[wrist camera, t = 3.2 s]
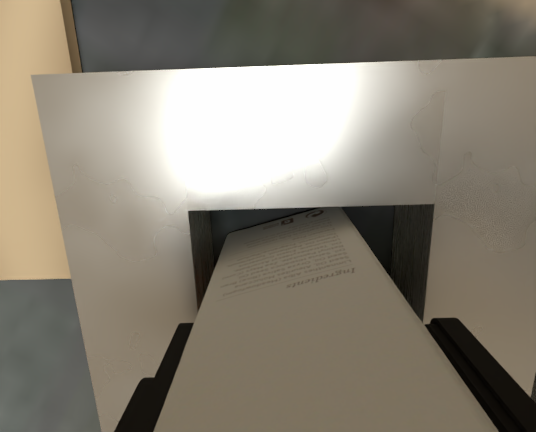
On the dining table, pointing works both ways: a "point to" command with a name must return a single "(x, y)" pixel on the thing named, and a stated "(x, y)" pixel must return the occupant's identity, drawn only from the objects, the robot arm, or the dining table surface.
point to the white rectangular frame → (292, 190)
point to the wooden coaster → (30, 136)
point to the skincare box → (312, 342)
